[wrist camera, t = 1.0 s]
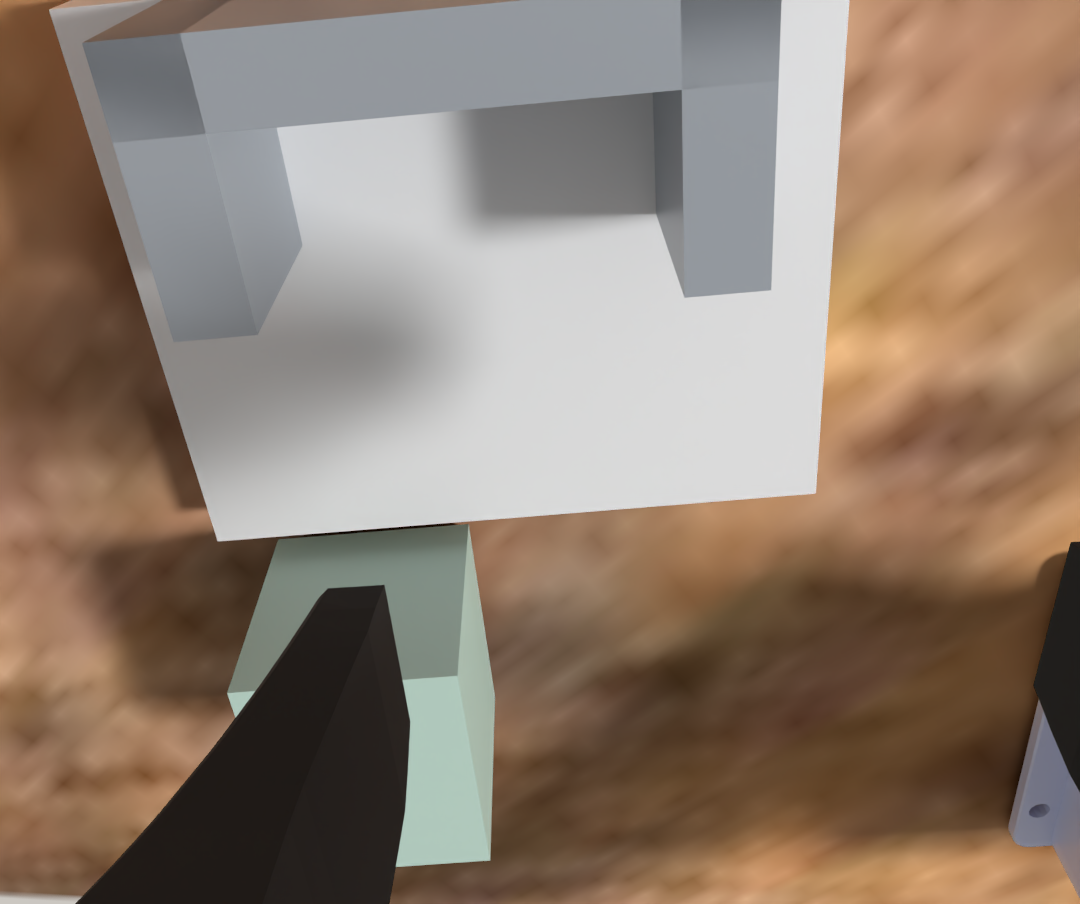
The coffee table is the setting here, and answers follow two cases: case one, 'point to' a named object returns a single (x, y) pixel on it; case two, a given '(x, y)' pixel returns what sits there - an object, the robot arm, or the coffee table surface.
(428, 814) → the pale green block
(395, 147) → the dock
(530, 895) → the coffee table surface
